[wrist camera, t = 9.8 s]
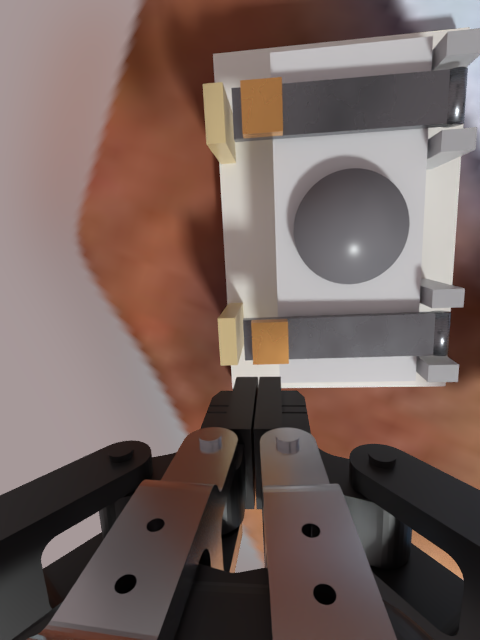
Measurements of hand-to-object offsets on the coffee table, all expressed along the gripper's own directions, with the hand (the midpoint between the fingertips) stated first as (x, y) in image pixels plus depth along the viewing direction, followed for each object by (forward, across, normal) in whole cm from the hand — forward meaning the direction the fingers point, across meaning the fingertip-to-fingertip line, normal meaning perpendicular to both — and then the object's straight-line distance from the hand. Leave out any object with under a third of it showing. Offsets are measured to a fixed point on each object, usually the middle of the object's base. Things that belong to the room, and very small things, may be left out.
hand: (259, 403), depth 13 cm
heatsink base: (+15, -5, -6) cm, 17 cm away
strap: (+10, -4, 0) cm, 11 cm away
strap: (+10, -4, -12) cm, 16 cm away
